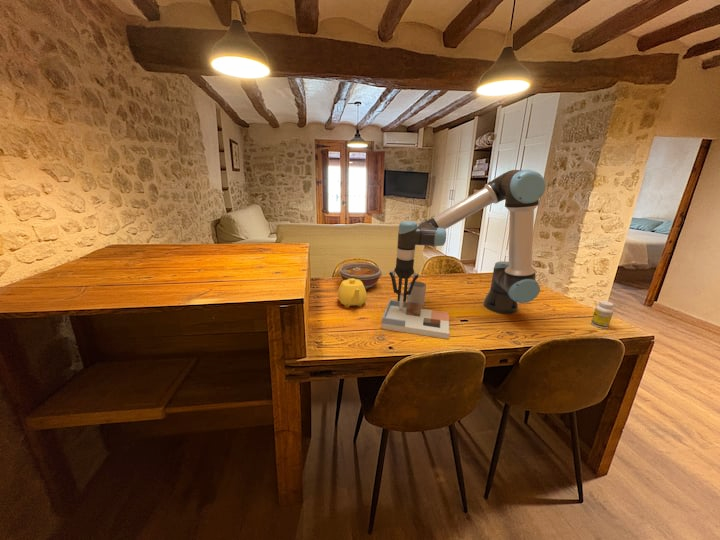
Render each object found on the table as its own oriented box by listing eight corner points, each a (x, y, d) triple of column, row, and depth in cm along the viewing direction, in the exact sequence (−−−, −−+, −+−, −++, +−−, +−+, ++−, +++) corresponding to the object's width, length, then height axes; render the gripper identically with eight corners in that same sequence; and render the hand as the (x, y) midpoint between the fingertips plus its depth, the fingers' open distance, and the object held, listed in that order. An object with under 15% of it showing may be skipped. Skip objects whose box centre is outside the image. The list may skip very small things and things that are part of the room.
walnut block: (420, 310, 136) (421, 303, 135) (419, 316, 130) (420, 309, 129) (407, 308, 137) (407, 301, 136) (405, 314, 132) (406, 307, 131)
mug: (425, 308, 143) (428, 287, 140) (408, 308, 143) (410, 287, 140) (420, 298, 155) (422, 278, 151) (404, 298, 154) (405, 278, 151)
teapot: (361, 295, 157) (361, 272, 152) (371, 312, 138) (373, 287, 134) (335, 297, 153) (335, 273, 149) (342, 315, 135) (343, 289, 131)
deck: (448, 317, 136) (449, 307, 134) (448, 339, 118) (450, 328, 117) (389, 309, 142) (389, 299, 140) (381, 328, 125) (382, 317, 123)
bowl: (335, 280, 176) (335, 264, 173) (372, 277, 183) (372, 261, 180) (345, 295, 156) (345, 277, 153) (386, 291, 162) (387, 274, 159)
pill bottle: (591, 320, 137) (598, 298, 133) (608, 325, 133) (615, 302, 129) (590, 325, 132) (597, 302, 128) (607, 330, 128) (615, 307, 125)
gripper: (421, 257, 130) (416, 306, 138) (391, 254, 133) (388, 302, 141) (420, 261, 123) (414, 313, 131) (388, 258, 126) (385, 309, 134)
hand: (401, 307), depth 136 cm, fingers closed
